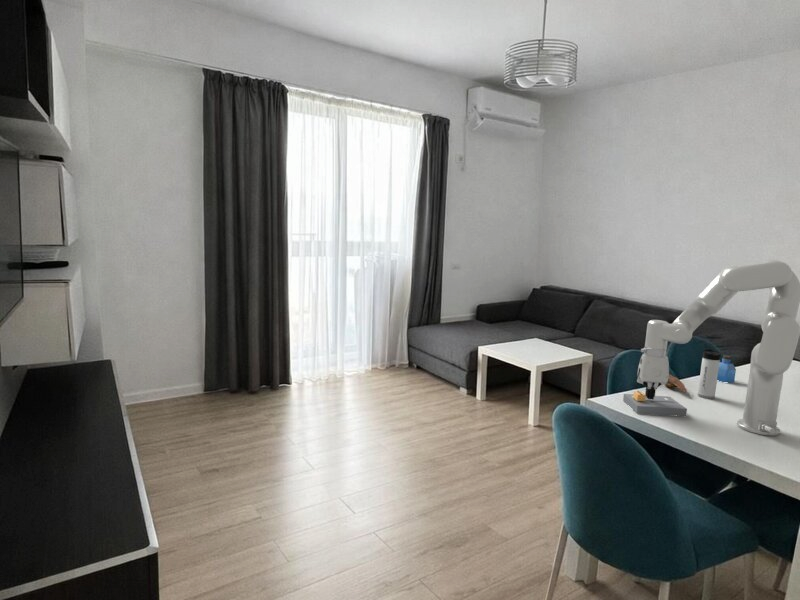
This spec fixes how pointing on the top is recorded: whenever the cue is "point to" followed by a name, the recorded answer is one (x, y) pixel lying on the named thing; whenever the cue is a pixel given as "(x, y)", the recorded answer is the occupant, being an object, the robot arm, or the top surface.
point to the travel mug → (709, 374)
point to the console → (655, 405)
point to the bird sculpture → (675, 383)
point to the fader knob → (639, 396)
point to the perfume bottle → (726, 370)
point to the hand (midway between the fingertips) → (649, 398)
